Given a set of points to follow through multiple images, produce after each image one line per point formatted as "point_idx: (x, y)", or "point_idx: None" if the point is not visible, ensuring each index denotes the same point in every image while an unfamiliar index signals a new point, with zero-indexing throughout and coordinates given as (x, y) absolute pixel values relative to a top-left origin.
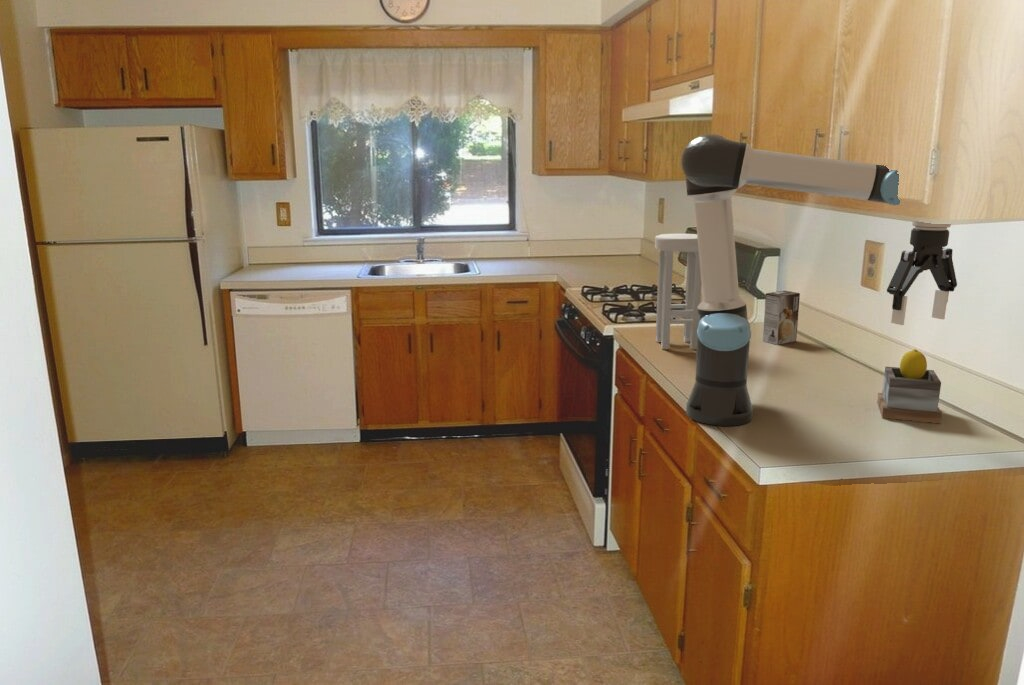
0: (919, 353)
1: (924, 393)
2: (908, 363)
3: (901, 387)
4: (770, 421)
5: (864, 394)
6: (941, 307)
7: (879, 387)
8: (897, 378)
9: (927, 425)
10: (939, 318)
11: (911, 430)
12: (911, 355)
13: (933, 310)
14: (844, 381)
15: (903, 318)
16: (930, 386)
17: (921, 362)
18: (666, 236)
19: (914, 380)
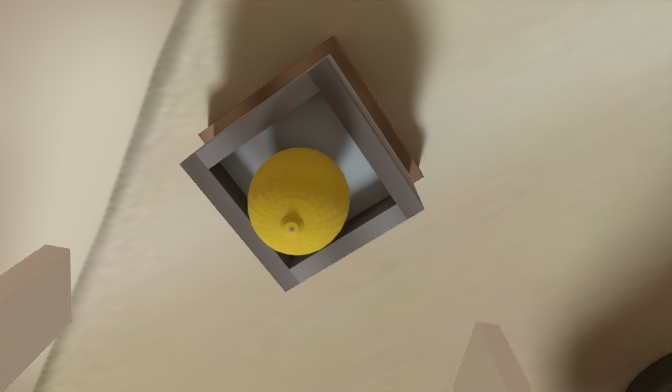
0: (296, 201)
1: (355, 99)
2: (348, 204)
3: (398, 166)
4: (656, 320)
5: (261, 294)
6: (7, 318)
7: (168, 301)
8: (404, 192)
9: (377, 54)
10: (67, 270)
11: (458, 62)
12: (330, 217)
13: (38, 349)
14: (203, 375)
15: (502, 355)
16: (346, 88)
17: (316, 168)
18: None
19: (378, 141)
